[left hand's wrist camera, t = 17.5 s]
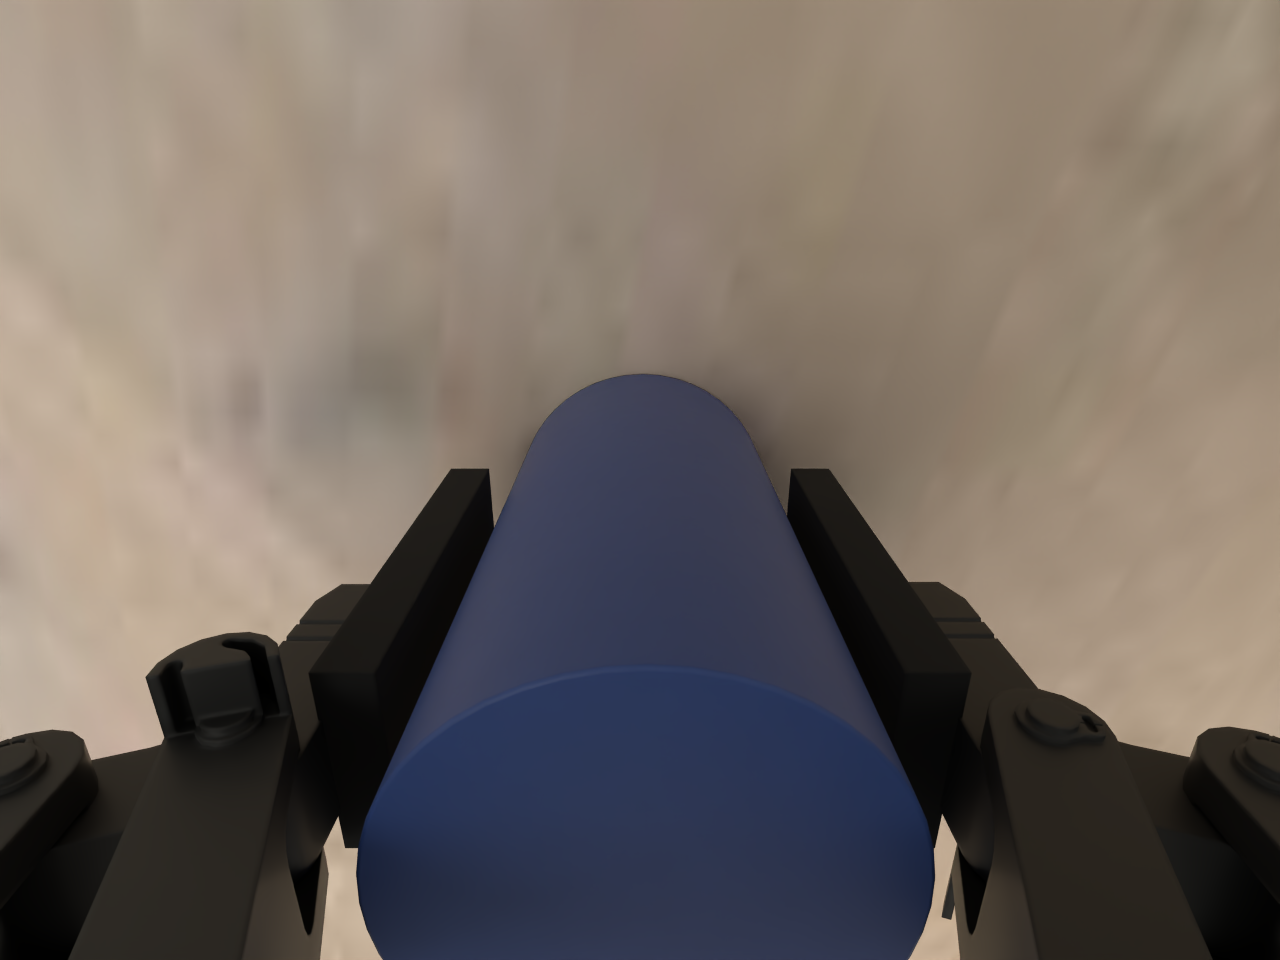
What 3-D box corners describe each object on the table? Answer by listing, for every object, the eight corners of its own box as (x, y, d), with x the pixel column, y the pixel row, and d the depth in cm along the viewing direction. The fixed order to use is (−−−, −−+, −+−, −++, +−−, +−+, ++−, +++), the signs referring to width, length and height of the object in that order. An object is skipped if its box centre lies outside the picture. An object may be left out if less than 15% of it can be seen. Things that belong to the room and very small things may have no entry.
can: (753, 359, 15) (948, 634, 6) (767, 580, 17) (929, 1062, 8) (502, 389, 16) (276, 703, 6) (545, 604, 18) (430, 1099, 8)
